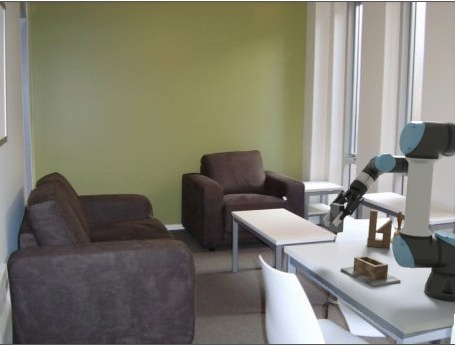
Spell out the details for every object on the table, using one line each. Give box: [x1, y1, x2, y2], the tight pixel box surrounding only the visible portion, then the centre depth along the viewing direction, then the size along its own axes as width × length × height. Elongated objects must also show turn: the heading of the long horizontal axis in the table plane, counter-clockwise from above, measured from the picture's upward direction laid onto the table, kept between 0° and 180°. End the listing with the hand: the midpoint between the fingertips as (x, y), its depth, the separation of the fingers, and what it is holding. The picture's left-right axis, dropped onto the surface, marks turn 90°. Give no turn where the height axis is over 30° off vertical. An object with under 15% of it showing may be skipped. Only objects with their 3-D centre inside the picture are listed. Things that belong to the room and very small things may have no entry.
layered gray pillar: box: [328, 202, 346, 234], centre depth 231 cm, size 6×3×12 cm, turn 27°
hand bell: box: [390, 211, 403, 244], centre depth 265 cm, size 8×8×16 cm
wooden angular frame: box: [366, 209, 393, 249], centre depth 257 cm, size 4×11×18 cm, turn 78°
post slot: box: [340, 255, 402, 288], centre depth 214 cm, size 20×14×6 cm
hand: (329, 222), depth 230 cm, fingers closed on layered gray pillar, 6 cm apart
